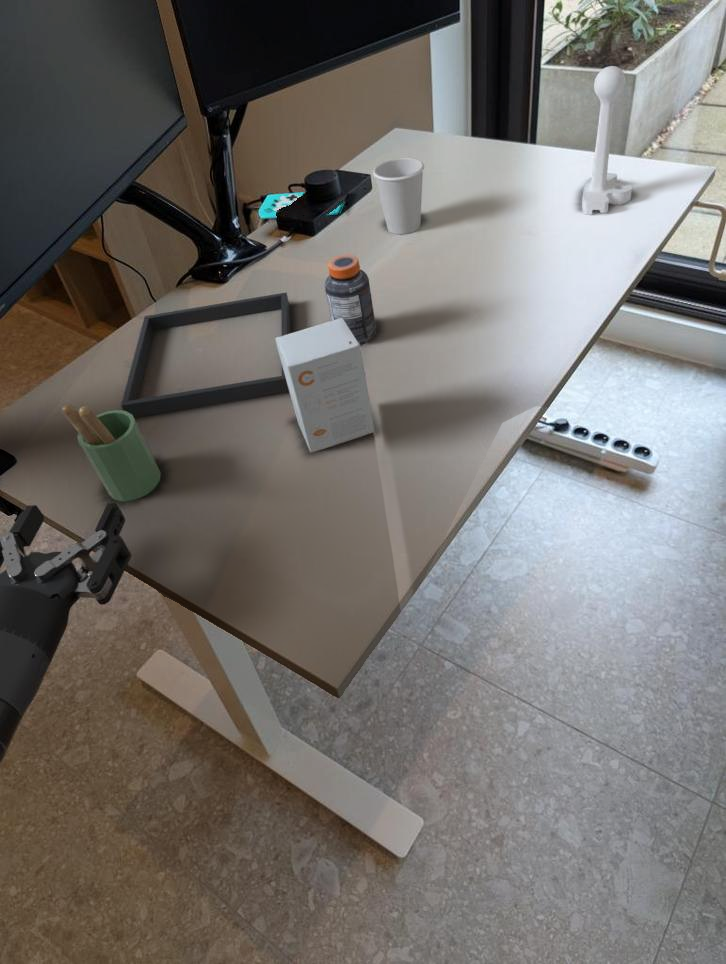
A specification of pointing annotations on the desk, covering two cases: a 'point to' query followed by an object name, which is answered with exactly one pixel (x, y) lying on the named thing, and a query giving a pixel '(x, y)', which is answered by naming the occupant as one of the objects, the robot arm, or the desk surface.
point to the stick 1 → (80, 425)
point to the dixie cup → (400, 193)
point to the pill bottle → (350, 297)
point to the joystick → (605, 148)
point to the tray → (207, 394)
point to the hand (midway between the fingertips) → (76, 509)
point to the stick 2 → (96, 425)
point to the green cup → (123, 458)
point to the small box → (326, 383)
